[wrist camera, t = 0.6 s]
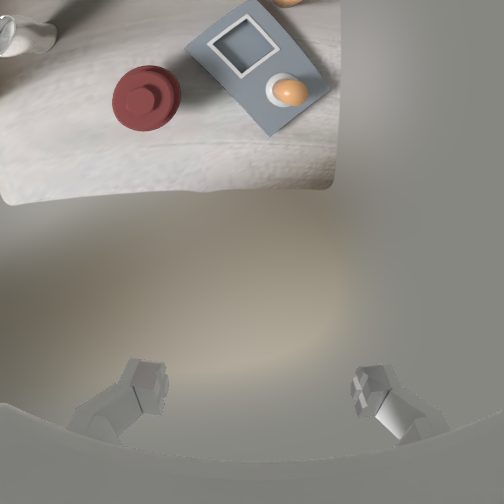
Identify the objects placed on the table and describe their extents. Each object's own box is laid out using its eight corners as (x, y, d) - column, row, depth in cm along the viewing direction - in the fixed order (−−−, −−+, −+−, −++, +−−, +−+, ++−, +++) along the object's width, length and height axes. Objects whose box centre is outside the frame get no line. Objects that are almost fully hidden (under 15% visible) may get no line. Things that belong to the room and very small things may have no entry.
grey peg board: (184, 49, 38) (182, 44, 31) (250, 0, 34) (261, -13, 27) (265, 133, 49) (279, 146, 42) (324, 87, 45) (347, 93, 38)
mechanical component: (130, 64, 37) (188, 69, 40) (121, 119, 43) (176, 124, 45) (110, 63, 27) (186, 68, 30) (100, 135, 33) (171, 141, 36)
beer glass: (61, 16, 28) (18, 6, 16) (59, 50, 32) (15, 50, 20) (29, 27, 26) (-17, 24, 14) (28, 60, 30) (-20, 66, 18)
